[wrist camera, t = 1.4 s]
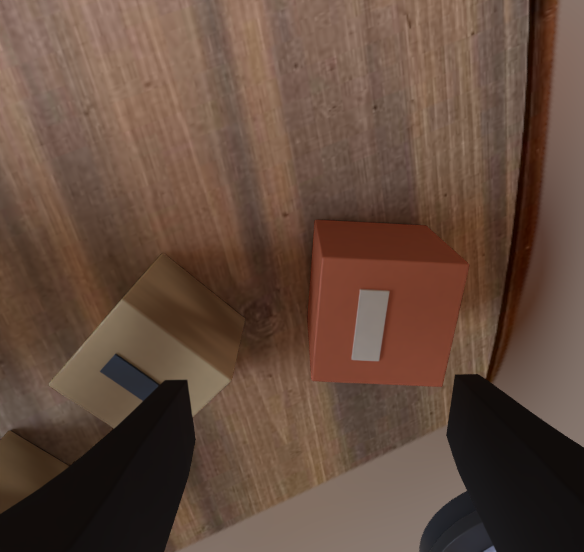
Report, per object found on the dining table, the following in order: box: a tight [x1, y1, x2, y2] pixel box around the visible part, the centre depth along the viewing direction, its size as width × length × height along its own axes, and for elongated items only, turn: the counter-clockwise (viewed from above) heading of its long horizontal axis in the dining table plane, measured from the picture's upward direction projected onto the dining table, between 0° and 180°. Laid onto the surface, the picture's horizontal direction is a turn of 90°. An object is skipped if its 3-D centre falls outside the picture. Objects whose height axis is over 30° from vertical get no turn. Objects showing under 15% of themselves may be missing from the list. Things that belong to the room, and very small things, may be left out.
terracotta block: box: [307, 220, 469, 387], centre depth 17 cm, size 5×5×5 cm
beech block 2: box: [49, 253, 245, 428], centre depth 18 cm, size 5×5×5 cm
